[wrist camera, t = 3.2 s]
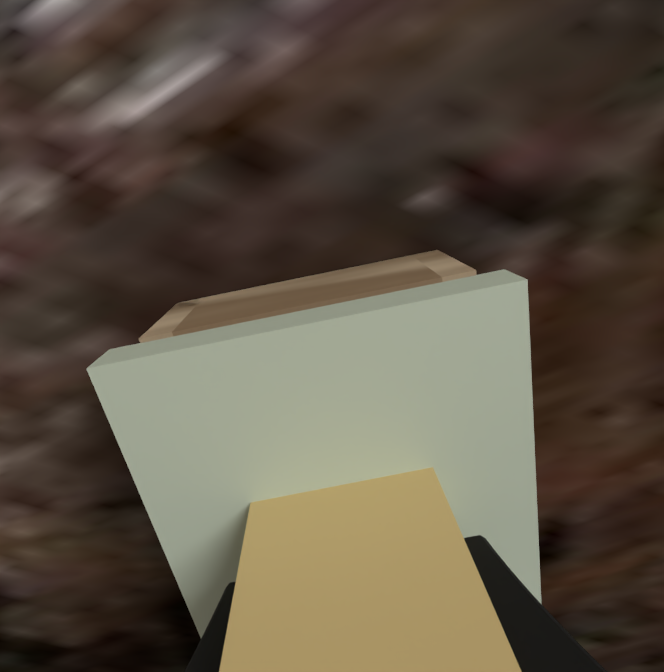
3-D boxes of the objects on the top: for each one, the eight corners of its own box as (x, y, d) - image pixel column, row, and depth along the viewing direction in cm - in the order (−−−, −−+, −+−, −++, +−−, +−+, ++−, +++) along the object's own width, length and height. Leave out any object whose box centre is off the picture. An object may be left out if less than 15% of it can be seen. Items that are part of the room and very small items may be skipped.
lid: (519, 630, 13) (675, 963, 8) (250, 680, 13) (207, 1042, 8) (494, 265, 9) (771, 387, 4) (119, 341, 10) (-155, 568, 4)
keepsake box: (468, 532, 17) (504, 609, 14) (265, 571, 17) (256, 656, 14) (437, 249, 13) (475, 270, 10) (177, 302, 13) (138, 338, 10)
